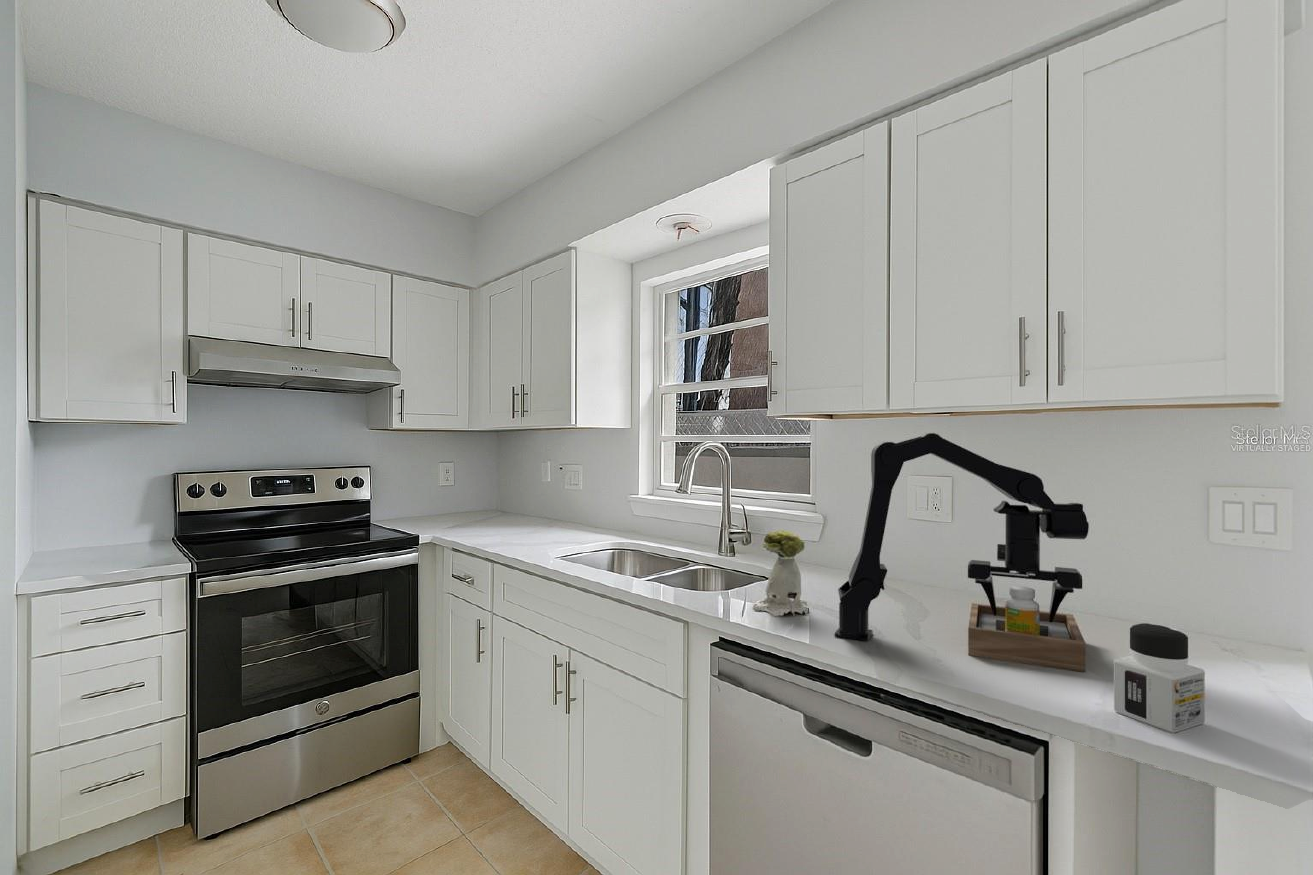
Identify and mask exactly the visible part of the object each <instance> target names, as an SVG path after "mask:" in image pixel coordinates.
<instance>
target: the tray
mask: <svg viewBox="0 0 1313 875" xmlns="http://www.w3.org/2000/svg"><path fill="white" fill-rule="evenodd" d="M969 615H970V616H969V620H968V628H967V631H968V632H967V636H968V637H967V638H968V640H967V643H968V644H967V647H968V648H967V649H968V650H967V651H968V652H967V653H968V654H967V655H968V656H973V657H980V658H987V659H993V660H1000V661H1007V662H1013V663H1019V664H1027V665H1032V666H1038V667H1039V666H1040V667H1046V668H1053V669H1060V670H1066V671H1073V672H1079V673H1080V672H1081V673H1086V641H1085V639H1084V637H1083V634H1082V632H1081V630H1080V628H1079V626H1078V625H1079V624H1078V623H1077V621H1076V618H1075V616H1074V614H1070V613H1062V612H1056V614H1055V617H1054V619H1053V621H1052V622H1049V611H1046V610H1045V611H1044V610H1039V635H1032V634H1024V633H1017V632H1009V631H1005V606H999V605H996V616H994V614H993V611H992V608H991V605H989V604H982V603H981V604H980V603H973V602H972V603H971V607H970V614H969Z"/></svg>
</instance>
